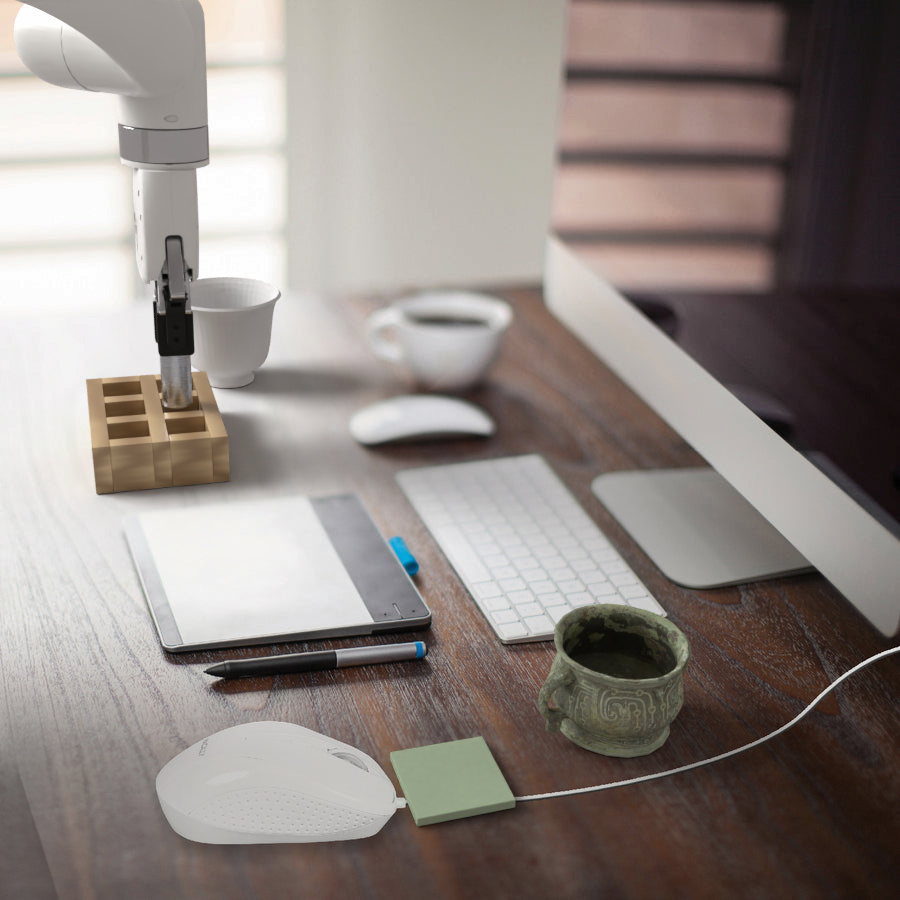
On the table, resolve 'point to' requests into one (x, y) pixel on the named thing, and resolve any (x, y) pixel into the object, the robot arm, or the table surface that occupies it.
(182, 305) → the robot arm
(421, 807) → the mat
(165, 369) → the steel peg
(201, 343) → the teacup
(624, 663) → the vessel
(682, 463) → the table surface
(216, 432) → the desk rack
